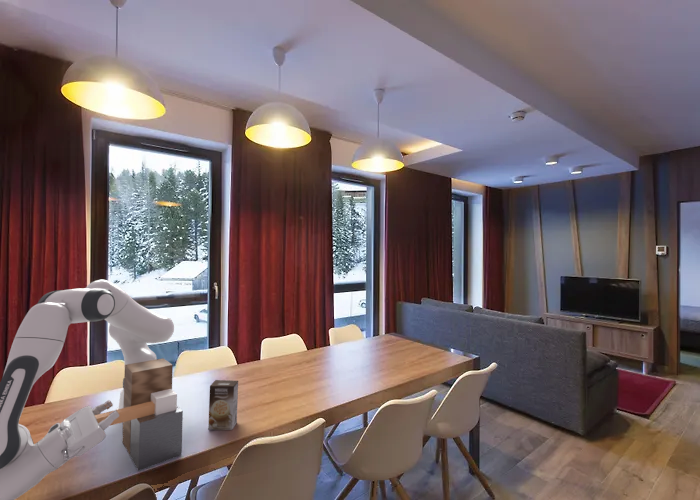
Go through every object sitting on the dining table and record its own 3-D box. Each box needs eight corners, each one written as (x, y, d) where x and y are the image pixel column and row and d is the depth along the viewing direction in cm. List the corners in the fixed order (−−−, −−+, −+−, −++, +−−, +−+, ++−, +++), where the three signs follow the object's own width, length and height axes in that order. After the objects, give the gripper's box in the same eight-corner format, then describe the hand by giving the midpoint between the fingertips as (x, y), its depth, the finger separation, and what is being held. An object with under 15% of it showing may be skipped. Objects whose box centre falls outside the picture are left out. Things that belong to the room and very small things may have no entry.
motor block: (138, 471, 101) (139, 422, 101) (129, 455, 109) (131, 411, 109) (181, 455, 109) (182, 410, 110) (170, 442, 117) (172, 400, 117)
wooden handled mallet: (96, 431, 96) (96, 413, 96) (92, 424, 100) (93, 406, 100) (176, 409, 111) (176, 394, 111) (170, 403, 115) (171, 388, 115)
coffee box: (207, 430, 126) (208, 385, 126) (213, 421, 132) (214, 379, 132) (232, 430, 126) (233, 385, 126) (237, 421, 132) (238, 379, 133)
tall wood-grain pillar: (129, 455, 109) (132, 372, 110) (122, 442, 117) (124, 364, 117) (170, 441, 117) (172, 364, 118) (161, 430, 125) (163, 358, 126)
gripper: (56, 453, 84) (115, 411, 93) (50, 424, 99) (102, 389, 108) (72, 471, 87) (128, 427, 95) (64, 439, 101) (113, 404, 110)
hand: (114, 407), depth 101 cm, fingers open, 8 cm apart
